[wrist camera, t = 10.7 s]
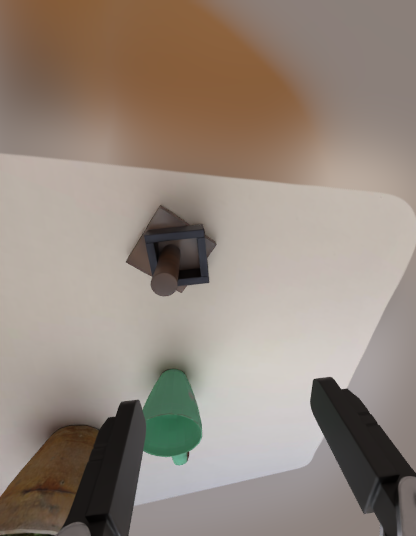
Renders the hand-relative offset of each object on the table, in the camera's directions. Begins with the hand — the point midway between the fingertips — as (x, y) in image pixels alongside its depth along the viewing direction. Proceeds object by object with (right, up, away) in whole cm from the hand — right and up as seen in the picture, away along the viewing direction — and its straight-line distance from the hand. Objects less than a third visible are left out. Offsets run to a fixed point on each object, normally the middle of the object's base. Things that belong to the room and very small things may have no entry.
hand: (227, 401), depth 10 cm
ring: (-5, +8, +20) cm, 22 cm away
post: (-6, +9, +22) cm, 24 cm away
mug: (-7, -17, +32) cm, 37 cm away
